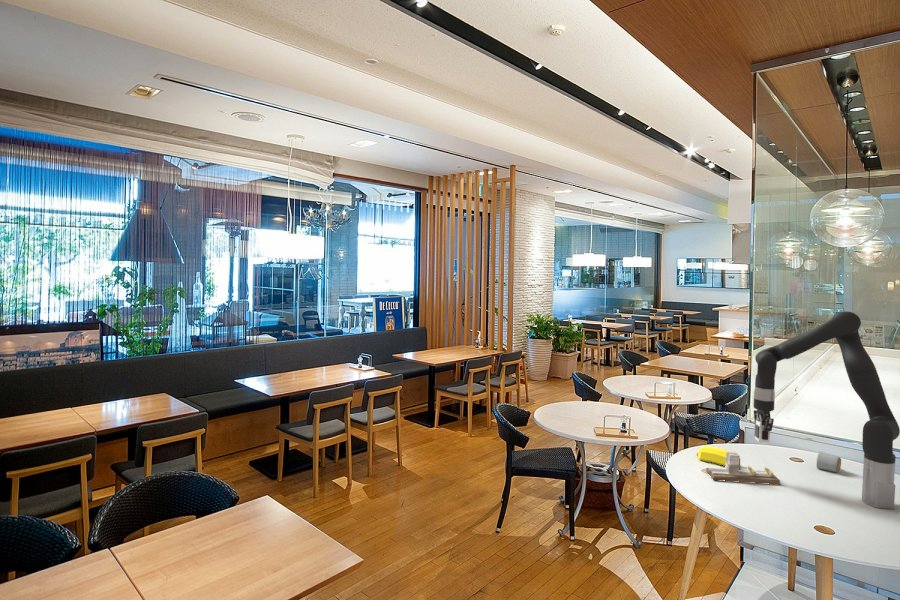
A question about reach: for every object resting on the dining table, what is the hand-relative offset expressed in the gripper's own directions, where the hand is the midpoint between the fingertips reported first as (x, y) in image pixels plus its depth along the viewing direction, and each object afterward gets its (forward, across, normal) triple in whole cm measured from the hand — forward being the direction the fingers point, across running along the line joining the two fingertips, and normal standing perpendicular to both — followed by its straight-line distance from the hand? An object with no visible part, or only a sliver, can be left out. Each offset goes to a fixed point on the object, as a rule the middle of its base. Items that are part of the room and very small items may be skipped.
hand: (762, 437), depth 218 cm
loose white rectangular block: (+1, 0, 0) cm, 1 cm away
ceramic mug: (+19, +18, -36) cm, 44 cm away
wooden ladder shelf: (+18, 0, +8) cm, 20 cm away
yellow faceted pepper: (+19, +18, +12) cm, 28 cm away
